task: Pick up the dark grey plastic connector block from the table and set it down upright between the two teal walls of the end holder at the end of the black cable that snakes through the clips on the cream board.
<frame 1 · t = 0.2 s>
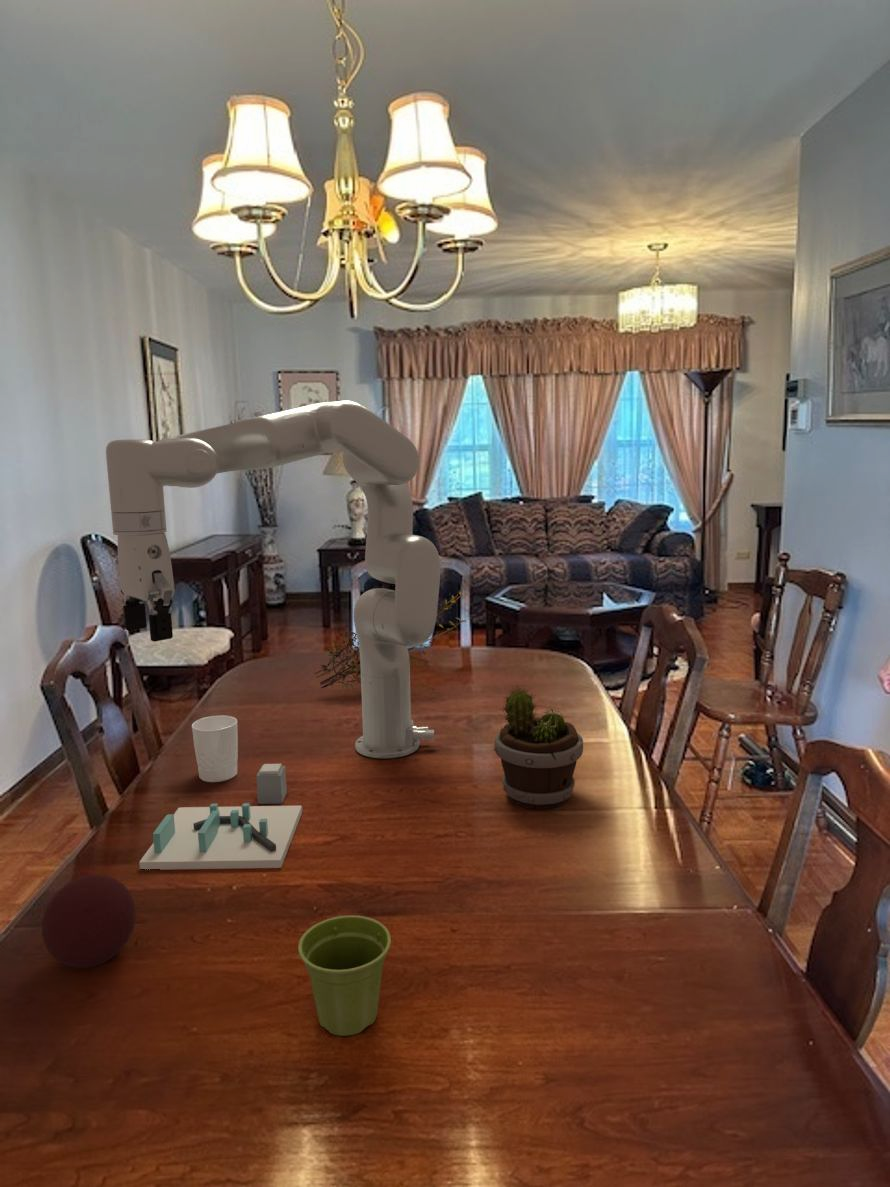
hand: (148, 634, 121), 31 cm above the table, tool pointing down, fingers open, 9 cm apart
flowerpot: (538, 797, 132), on the table
decorative ball: (94, 960, 92), on the table
dried plant: (402, 690, 191), on the table
cable: (235, 833, 118), on the route board, point 1 cm above the table
connector: (272, 798, 133), on the table
clips: (236, 822, 120), on the route board, point 2 cm above the table
end holder: (186, 832, 116), on the route board, point 3 cm above the table
white cup: (218, 775, 143), on the table
plant pot: (348, 1017, 82), on the table
route board: (226, 839, 120), on the table
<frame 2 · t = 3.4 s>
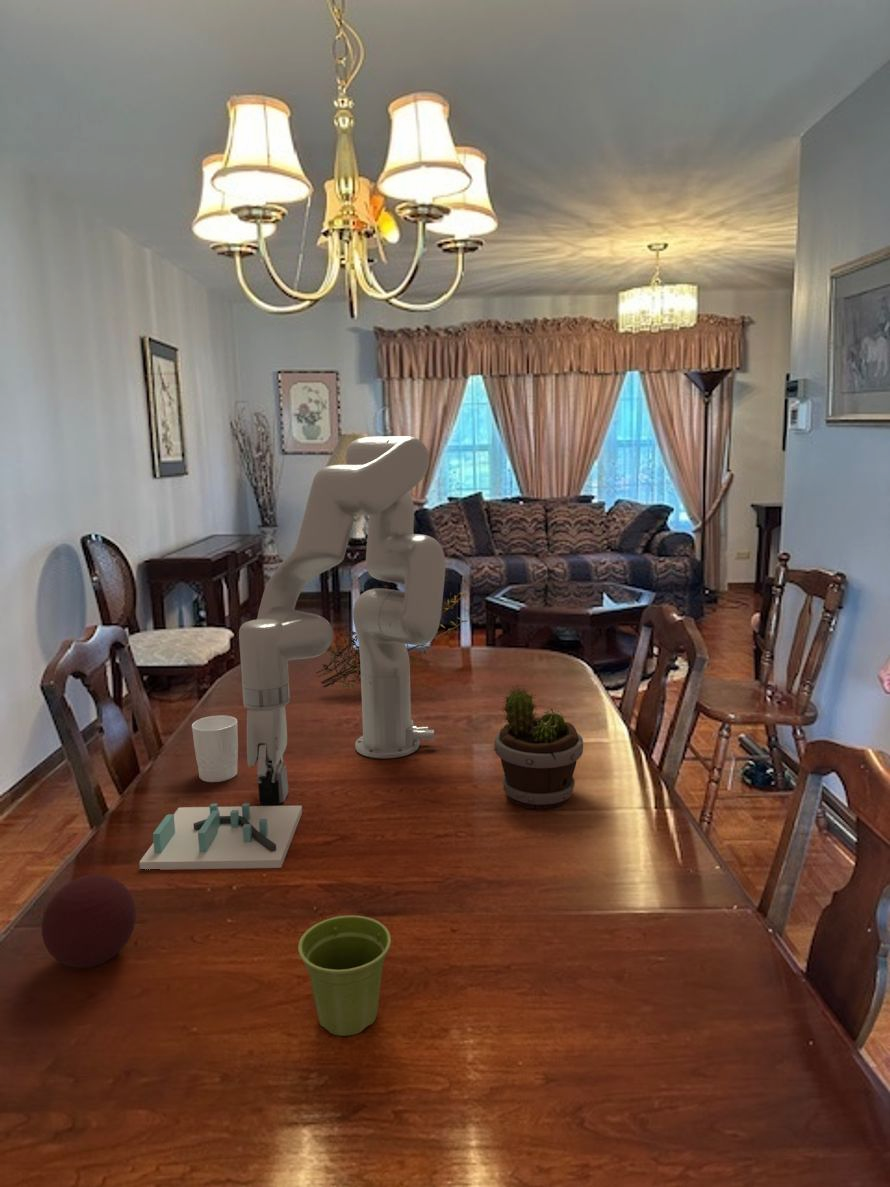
hand: (272, 796, 133), 0 cm above the table, tool pointing down, fingers closed on connector, 3 cm apart
connector: (274, 797, 133), on the table, touching gripper
everything else where it was.
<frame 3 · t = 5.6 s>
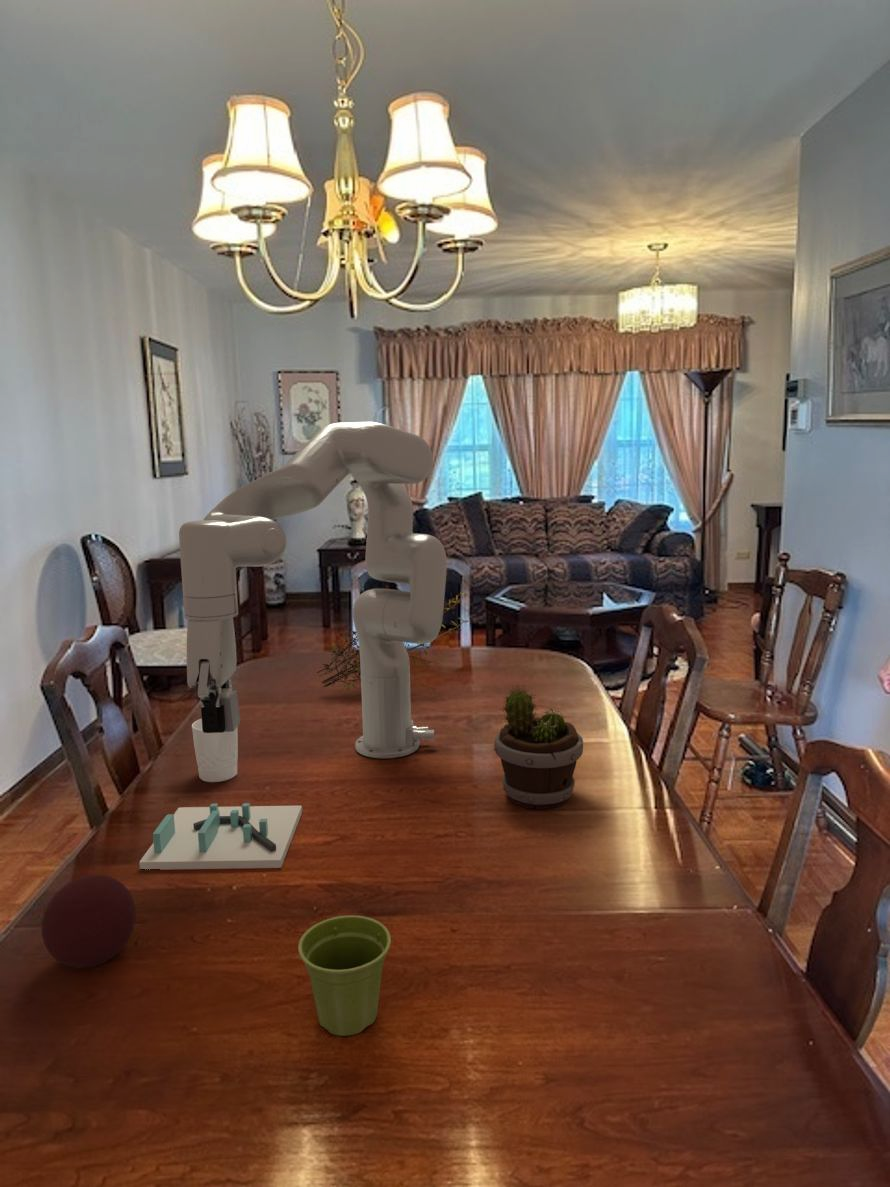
hand: (218, 725, 117), 18 cm above the table, tool pointing down, fingers closed on connector, 4 cm apart
connector: (223, 727, 117), point 18 cm above the table, touching gripper
everything else where it was.
when the fingers open (3 cm above the table, at t = 8.0 s): connector drops 1 cm, resting on route board.
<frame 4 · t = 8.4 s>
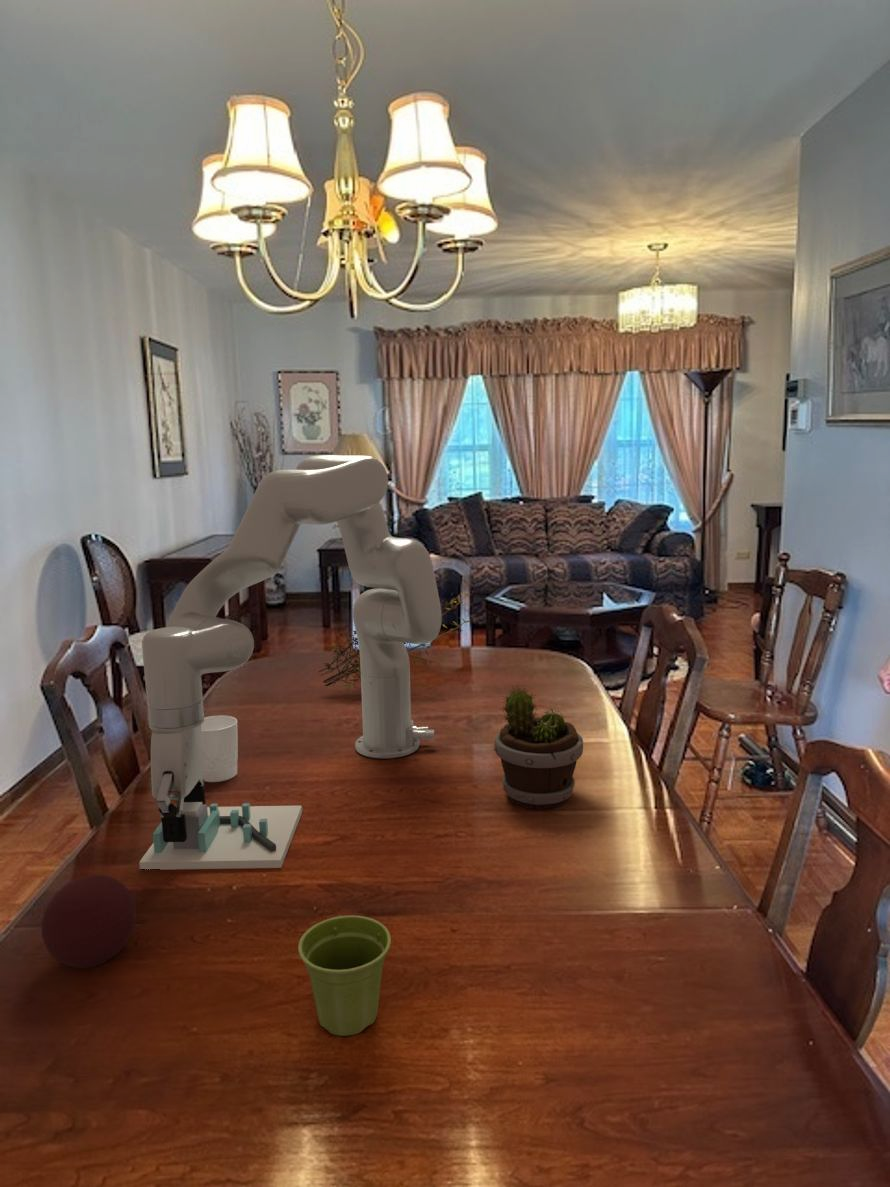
hand: (185, 825, 116), 4 cm above the table, tool pointing down, fingers open, 8 cm apart
connector: (191, 841, 117), point 1 cm above the table, touching route board
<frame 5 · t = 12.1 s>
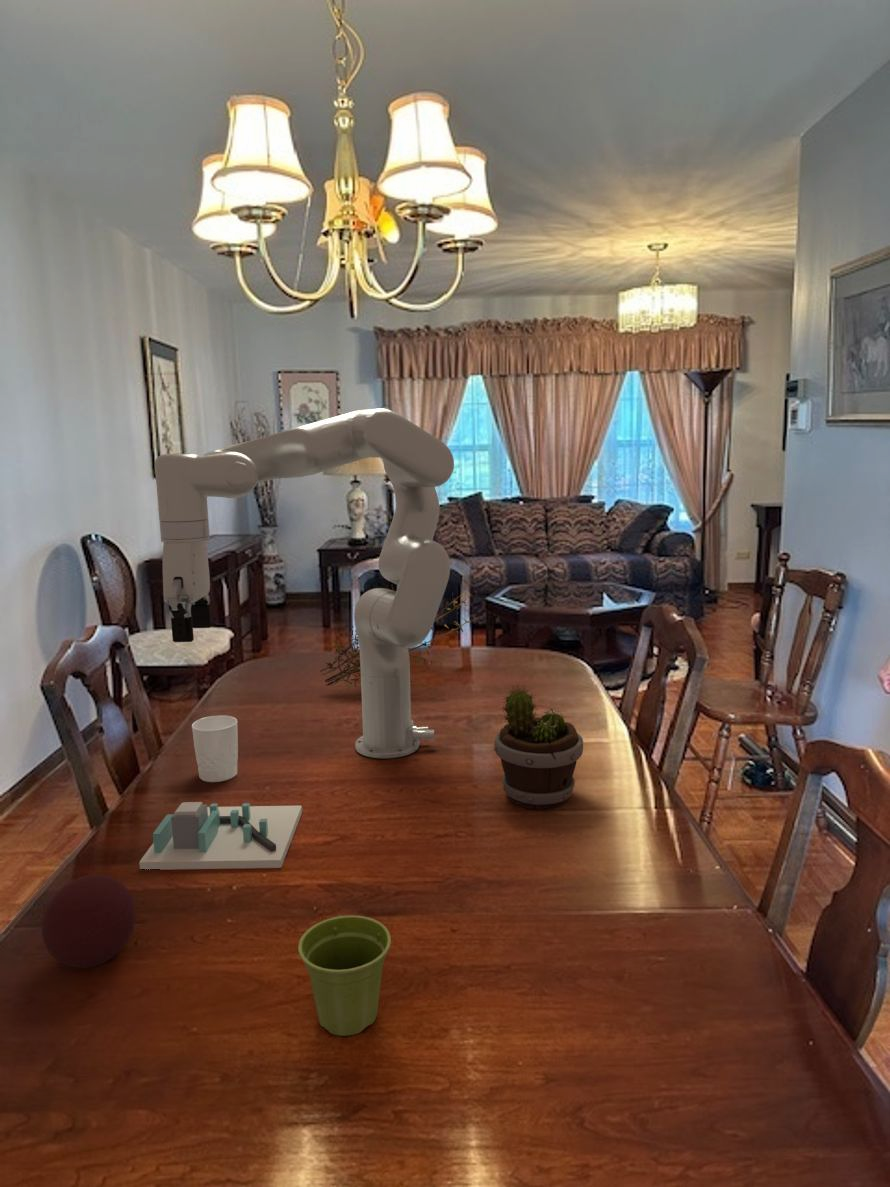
hand: (193, 634, 130), 28 cm above the table, tool pointing down, fingers open, 9 cm apart
at the end: connector 0.7 cm off-centre on the end holder, point 1.2 cm above the end holder's base; connector tilted 0°; the gripper is holding nothing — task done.
